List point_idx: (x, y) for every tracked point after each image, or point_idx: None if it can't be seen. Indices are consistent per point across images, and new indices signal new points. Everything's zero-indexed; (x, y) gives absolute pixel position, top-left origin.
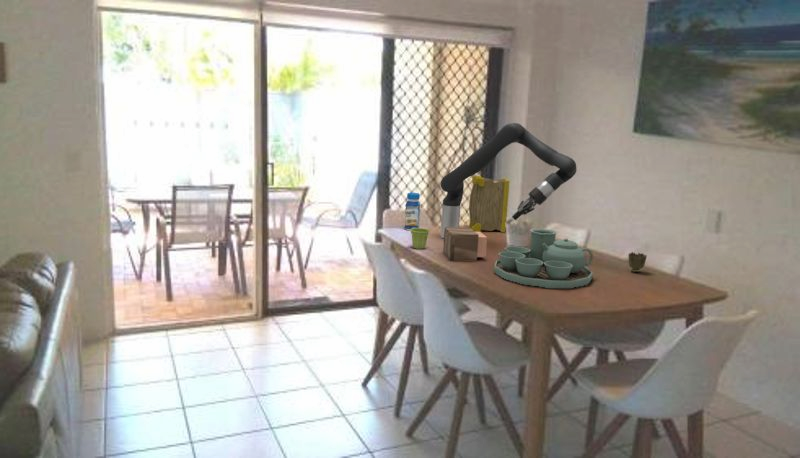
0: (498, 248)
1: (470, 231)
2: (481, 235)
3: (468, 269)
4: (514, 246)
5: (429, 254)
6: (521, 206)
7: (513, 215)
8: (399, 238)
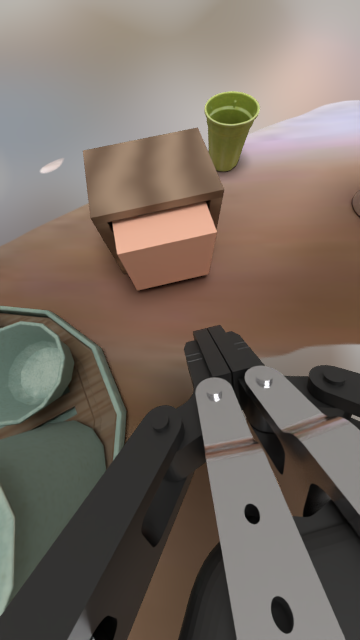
0: (305, 334)
1: (146, 193)
2: (146, 237)
3: (42, 258)
4: (61, 361)
5: None
6: (294, 436)
7: (211, 333)
8: (297, 125)
